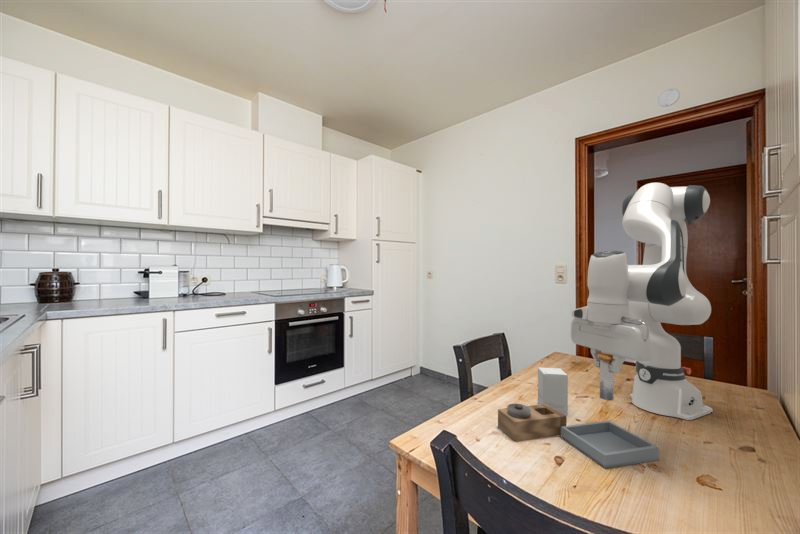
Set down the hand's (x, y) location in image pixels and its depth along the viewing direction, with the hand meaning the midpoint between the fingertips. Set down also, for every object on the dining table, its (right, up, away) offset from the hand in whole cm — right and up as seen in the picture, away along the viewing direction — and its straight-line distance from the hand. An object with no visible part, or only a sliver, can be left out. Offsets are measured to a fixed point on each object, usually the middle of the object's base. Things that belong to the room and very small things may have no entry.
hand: (606, 369), depth 80 cm
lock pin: (0, -7, 0) cm, 7 cm away
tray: (0, -20, 0) cm, 20 cm away
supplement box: (-3, -20, +22) cm, 30 cm away
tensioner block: (-16, -20, +8) cm, 26 cm away
